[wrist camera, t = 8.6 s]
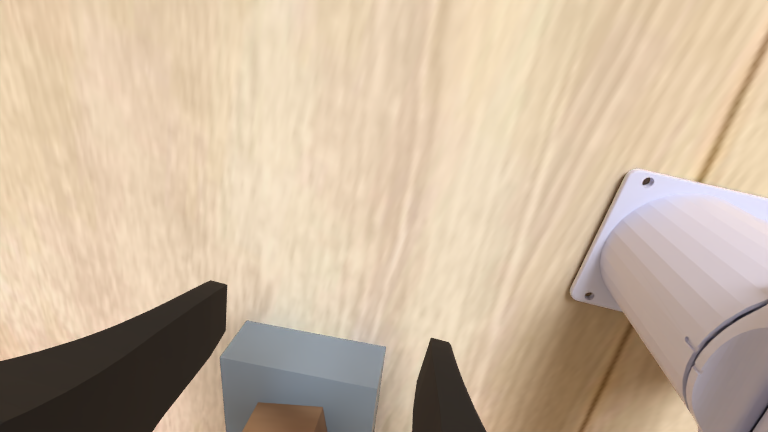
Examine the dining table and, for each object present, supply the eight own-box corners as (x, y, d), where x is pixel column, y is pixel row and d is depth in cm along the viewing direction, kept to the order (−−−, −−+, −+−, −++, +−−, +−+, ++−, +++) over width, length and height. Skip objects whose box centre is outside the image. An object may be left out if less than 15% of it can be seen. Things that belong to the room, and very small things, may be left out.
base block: (386, 342, 27) (377, 388, 23) (372, 440, 31) (363, 492, 27) (249, 317, 28) (219, 357, 24) (253, 414, 32) (228, 461, 28)
